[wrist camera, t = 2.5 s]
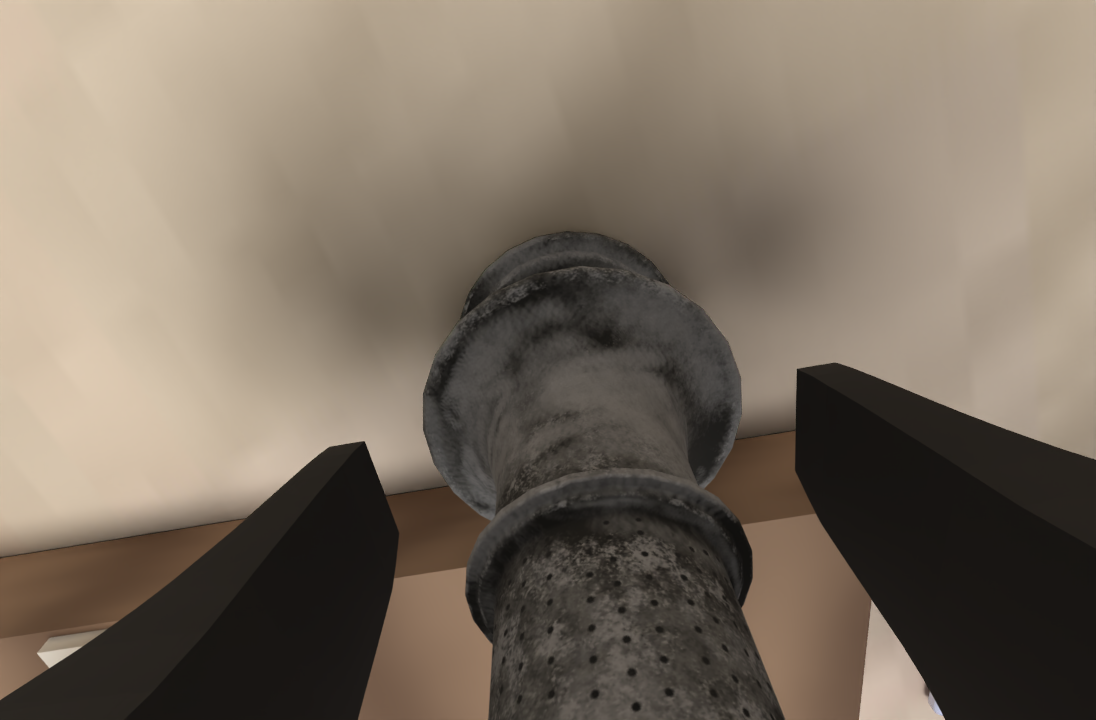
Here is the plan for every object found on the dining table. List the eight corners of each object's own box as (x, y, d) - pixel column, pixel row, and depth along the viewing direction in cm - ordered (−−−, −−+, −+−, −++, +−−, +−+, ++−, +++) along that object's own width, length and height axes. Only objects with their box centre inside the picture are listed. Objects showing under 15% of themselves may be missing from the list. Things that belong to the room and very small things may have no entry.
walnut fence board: (819, 426, 15) (891, 516, 12) (810, 633, 19) (865, 742, 16) (-46, 565, 16) (-176, 678, 13) (100, 736, 20) (23, 856, 17)
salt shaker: (406, 264, 13) (-153, 1180, 2) (664, 181, 12) (1539, 907, 2) (495, 469, 16) (426, 1353, 5) (713, 408, 15) (1184, 1271, 4)
